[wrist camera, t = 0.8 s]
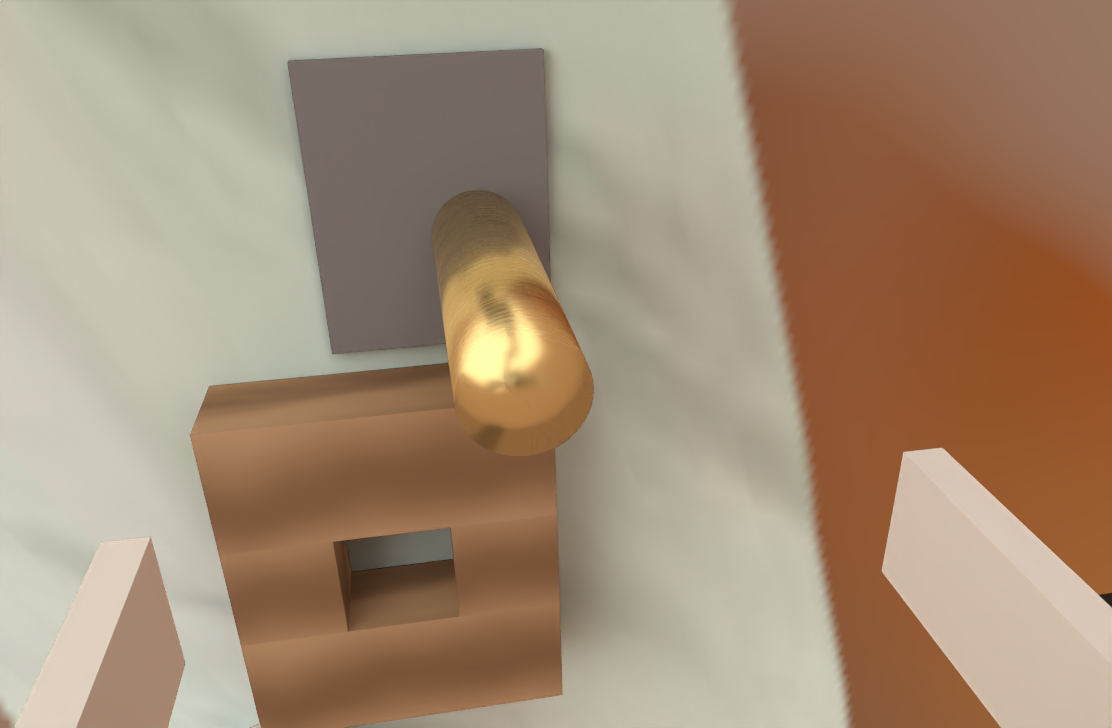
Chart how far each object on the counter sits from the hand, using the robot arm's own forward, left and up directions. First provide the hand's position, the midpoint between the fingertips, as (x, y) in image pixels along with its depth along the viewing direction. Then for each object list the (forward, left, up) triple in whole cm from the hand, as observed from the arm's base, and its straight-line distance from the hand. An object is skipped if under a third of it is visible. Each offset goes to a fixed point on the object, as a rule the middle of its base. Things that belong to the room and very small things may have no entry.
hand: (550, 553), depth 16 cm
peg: (0, 0, -17) cm, 17 cm away
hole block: (+12, -4, -18) cm, 21 cm away
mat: (-1, -1, -18) cm, 18 cm away
